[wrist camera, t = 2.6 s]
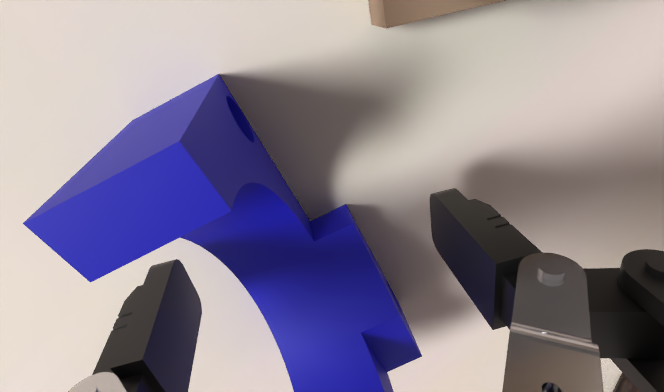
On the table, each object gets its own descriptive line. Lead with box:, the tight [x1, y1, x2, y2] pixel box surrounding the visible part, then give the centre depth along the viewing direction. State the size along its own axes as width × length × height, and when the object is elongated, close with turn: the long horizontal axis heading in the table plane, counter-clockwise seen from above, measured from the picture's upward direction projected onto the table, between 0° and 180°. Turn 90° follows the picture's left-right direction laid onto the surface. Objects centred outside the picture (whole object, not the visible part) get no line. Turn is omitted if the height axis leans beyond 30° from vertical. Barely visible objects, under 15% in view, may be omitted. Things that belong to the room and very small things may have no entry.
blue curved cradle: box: [23, 74, 422, 392], centre depth 11 cm, size 12×4×6 cm, turn 25°
